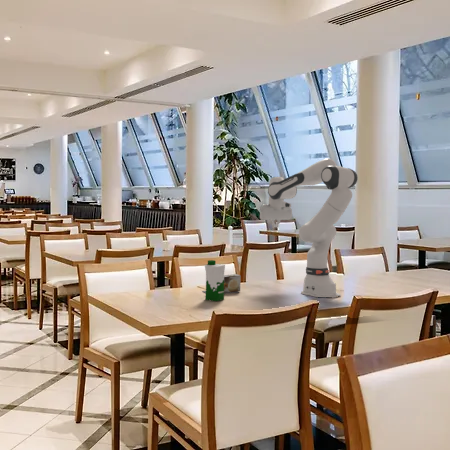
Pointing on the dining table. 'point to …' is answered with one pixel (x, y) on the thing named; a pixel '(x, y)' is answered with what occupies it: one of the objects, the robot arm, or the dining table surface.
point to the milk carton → (214, 281)
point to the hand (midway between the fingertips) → (275, 227)
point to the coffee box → (232, 283)
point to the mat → (224, 293)
